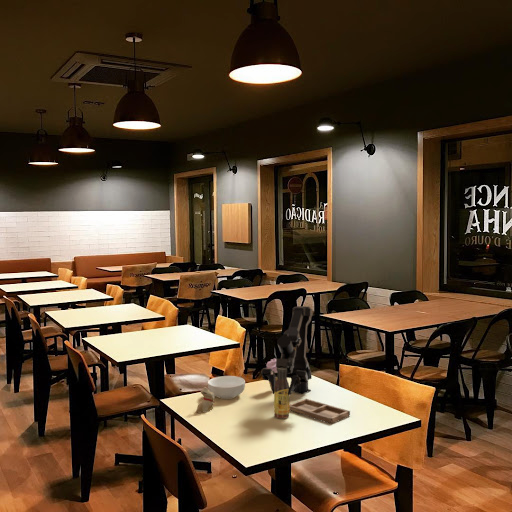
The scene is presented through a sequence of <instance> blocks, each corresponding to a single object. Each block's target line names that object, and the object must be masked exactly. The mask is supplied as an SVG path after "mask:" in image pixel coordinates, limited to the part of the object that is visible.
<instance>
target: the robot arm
mask: <svg viewBox="0 0 512 512" xmlns="http://www.w3.org/2000/svg"><path fill="white" fill-rule="evenodd" d="M313 313H314V312H313V308H311V306H304V305H301V306H300V305H297V306H294V307H293V308H292V316H291V321H290V323H289V327H288V329H286V330H285V331H284V333H283V334H282V335H281V336H280V337H278V339H276V344H277V346H278V349H279V352H280V353H281V356H280V358H275V359H276V367H277V368H278V367H286V368H287V379H291V380H290V384H289V392H288V395H291V394H292V392H293V393H297V394H300V395H303V394H307V393H309V392H311V391H312V390H311V389H310V388H309V380H311V379H312V371H311V368H310V366H309V365H310V364H309V362H308V359H307V355H306V354H307V339H308V338H307V335H308V326H309V325H310V323H311V321H312V317H313V315H314V314H313ZM260 375H261V377H262V379H263V380H264V381H268V383H269V382H271V386H272V390H271V392H272V395H274V390H275V383H276V380H275V378H276V377H278V372H274V371H272V369H271V368H267V367H263V368H262V369H261V371H260Z"/></svg>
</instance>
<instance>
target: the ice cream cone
mask: <svg viewBox="0 0 512 512" xmlns="http://www.w3.org/2000/svg"><path fill="white" fill-rule="evenodd" d="M276 359H277V358H275V357H274V358H273V359H270V361H267V363H266V366H265V367H266V368H271V369H272V371H274V372H277V367H276ZM275 380H276V381H277V377H276V378H275ZM268 383H269V386H270V389H271V391H272V386H271V382H269V381H268Z"/></svg>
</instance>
